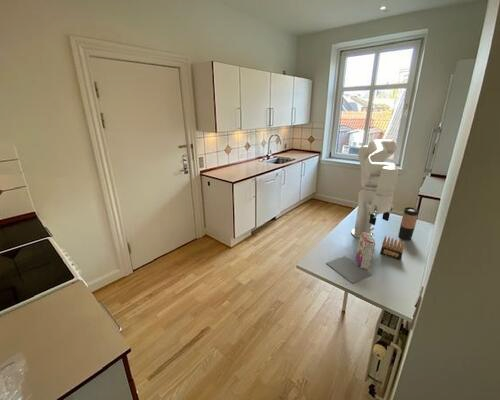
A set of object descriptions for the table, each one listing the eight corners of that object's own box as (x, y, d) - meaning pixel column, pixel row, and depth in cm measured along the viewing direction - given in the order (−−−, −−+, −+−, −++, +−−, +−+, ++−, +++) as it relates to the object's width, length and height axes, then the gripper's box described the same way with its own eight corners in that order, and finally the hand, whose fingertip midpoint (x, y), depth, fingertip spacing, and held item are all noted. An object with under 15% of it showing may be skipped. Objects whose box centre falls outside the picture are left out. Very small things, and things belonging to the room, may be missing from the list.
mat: (344, 256, 139) (345, 255, 139) (372, 274, 124) (372, 273, 124) (326, 263, 133) (326, 262, 133) (352, 283, 118) (352, 282, 118)
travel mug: (398, 239, 155) (405, 211, 147) (397, 233, 161) (403, 206, 154) (412, 241, 152) (420, 213, 145) (410, 235, 159) (417, 208, 151)
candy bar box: (354, 256, 138) (360, 231, 132) (364, 258, 137) (370, 232, 131) (359, 268, 128) (365, 241, 122) (369, 270, 127) (376, 242, 121)
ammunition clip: (401, 259, 136) (406, 240, 131) (400, 260, 134) (405, 242, 130) (380, 252, 142) (384, 234, 138) (379, 253, 141) (383, 236, 136)
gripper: (390, 186, 126) (383, 215, 132) (366, 192, 119) (360, 222, 126) (403, 190, 119) (396, 221, 126) (379, 197, 113) (372, 228, 120)
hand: (378, 221), depth 126 cm, fingers open, 9 cm apart
